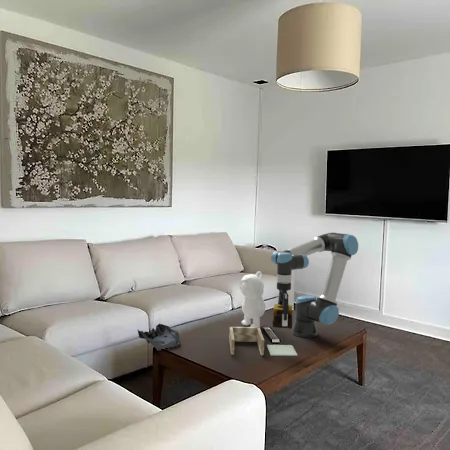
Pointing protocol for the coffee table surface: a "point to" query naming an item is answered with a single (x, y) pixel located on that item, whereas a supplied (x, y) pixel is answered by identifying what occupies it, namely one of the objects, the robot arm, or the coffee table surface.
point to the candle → (278, 316)
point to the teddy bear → (252, 298)
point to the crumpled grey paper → (161, 337)
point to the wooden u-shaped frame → (246, 337)
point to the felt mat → (281, 350)
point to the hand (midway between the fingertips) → (282, 322)
